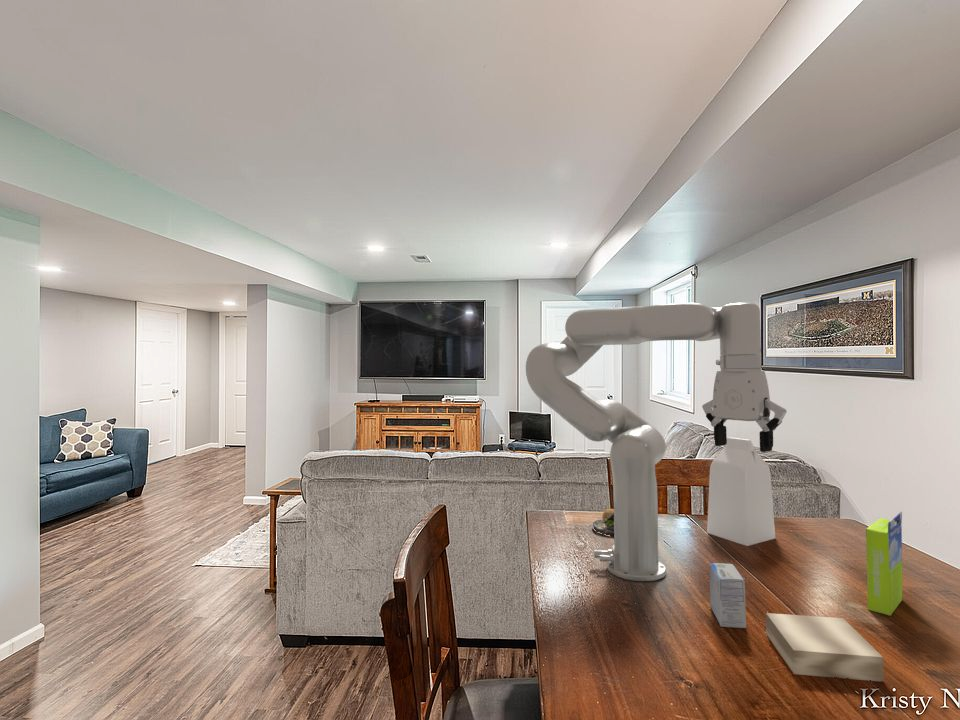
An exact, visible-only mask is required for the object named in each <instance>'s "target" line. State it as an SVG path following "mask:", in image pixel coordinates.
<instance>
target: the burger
mask: <svg viewBox="0 0 960 720" xmlns="http://www.w3.org/2000/svg"><path fill="white" fill-rule="evenodd" d="M605 508H606V509H605V510H604V512H603V514H602V517H601V518H602V519H597V520H595V521H593V523H592V526H593V527H594V529H595V530H596V531H597V532H600V533H602V534H606V535H610V536H612V537H613V536H614V508H608V507H607V506H605ZM602 534H601V535H602Z"/></svg>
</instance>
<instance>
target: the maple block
mask: <svg viewBox="0 0 960 720" xmlns="http://www.w3.org/2000/svg"><path fill="white" fill-rule="evenodd" d="M765 625H766V626H765V627H766V628H765V630H766V631H765V634H766V636H767V637H768V638H769V640H770V641H771V643H772V644H773V646H774V647H775V649H776V650H777V652H778V653H779V655H780V656H781V657H782V659H783V660H784V662H785V663H786V665H787V666H788V668H789V669H790V670H791V672H792V673H793V675H800V676H812V677H821V678H834V677H837V679H846V678H849V680H860V681H870V680H871V682H881V681H882V682H883V683H884V657H883V656H882V655H881V653H879V652H878V651H877V650H876V649H875V648H874V646H872V645H871V644H870V643H869V642H868V641H867V640H866V639H865V638H864V637H863V636H862V635H861V634H860V633H859V632H858V631H857V630H856V629H854V627H853V626H852V625H851V624H850V623H848V621H846V619H845V618H844V617H833V616H831V617H830V616H815V615H803V614H802V615H800V614H785V613H775V612H774V613H773V612H772V613H771V612H765ZM838 677H839V678H838Z"/></svg>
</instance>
